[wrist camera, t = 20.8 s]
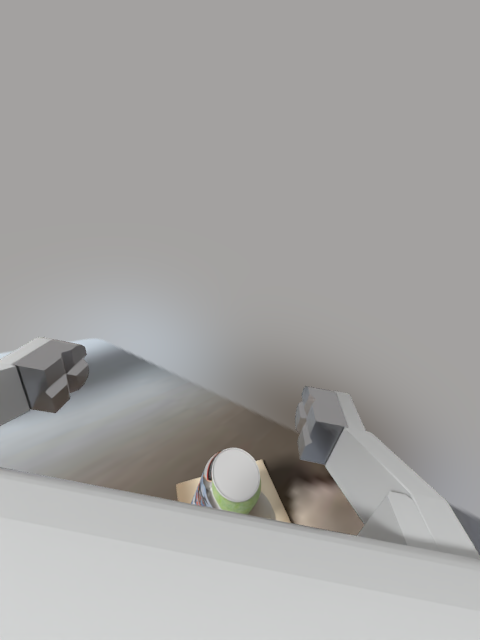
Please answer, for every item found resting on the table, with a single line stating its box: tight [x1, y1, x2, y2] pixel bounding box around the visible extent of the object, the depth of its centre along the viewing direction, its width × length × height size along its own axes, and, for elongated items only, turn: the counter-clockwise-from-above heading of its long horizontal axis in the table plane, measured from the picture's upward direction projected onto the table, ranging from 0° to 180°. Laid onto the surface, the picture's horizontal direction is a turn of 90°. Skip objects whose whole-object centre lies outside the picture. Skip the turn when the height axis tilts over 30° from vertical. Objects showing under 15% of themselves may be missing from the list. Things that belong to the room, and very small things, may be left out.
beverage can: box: [191, 448, 261, 515], centre depth 27 cm, size 6×7×12 cm
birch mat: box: [176, 460, 291, 523], centre depth 30 cm, size 13×13×1 cm
